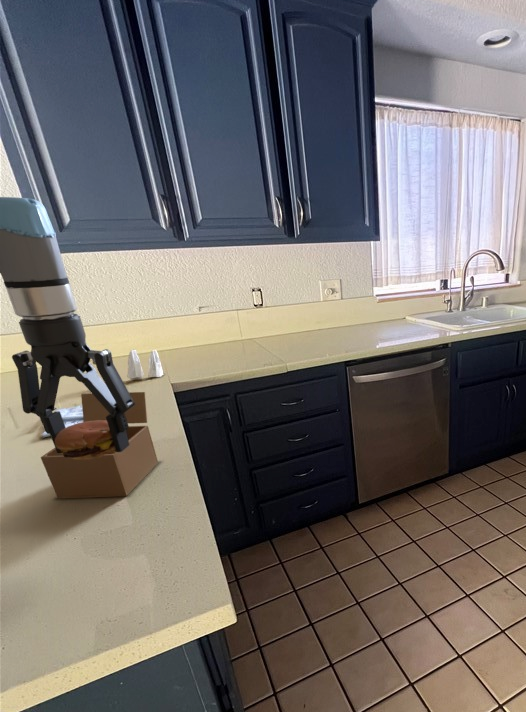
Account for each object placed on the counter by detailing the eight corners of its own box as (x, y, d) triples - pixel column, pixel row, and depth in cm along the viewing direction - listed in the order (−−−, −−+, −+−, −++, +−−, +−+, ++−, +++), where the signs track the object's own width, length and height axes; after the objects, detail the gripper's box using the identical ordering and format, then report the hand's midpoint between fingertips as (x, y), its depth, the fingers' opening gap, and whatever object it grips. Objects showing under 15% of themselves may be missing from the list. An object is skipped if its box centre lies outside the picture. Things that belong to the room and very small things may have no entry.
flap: (80, 393, 94) (81, 393, 94) (83, 424, 95) (84, 424, 95) (144, 392, 94) (144, 392, 94) (146, 422, 95) (147, 422, 95)
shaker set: (129, 382, 155) (120, 352, 150) (128, 379, 158) (119, 350, 153) (164, 376, 161) (157, 347, 156) (163, 374, 164) (156, 345, 159)
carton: (57, 498, 86) (40, 457, 82) (98, 464, 99) (84, 427, 95) (126, 496, 86) (113, 455, 82) (158, 462, 99) (147, 425, 95)
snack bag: (128, 404, 135) (126, 397, 134) (118, 428, 118) (115, 421, 117) (58, 413, 129) (55, 407, 128) (35, 440, 112) (32, 433, 111)
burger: (81, 439, 77) (73, 415, 75) (135, 437, 78) (128, 413, 76) (47, 466, 68) (37, 440, 66) (107, 464, 69) (99, 438, 67)
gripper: (135, 310, 67) (168, 438, 77) (-5, 312, 67) (45, 440, 76) (108, 318, 60) (147, 458, 70) (-48, 321, 60) (12, 460, 70)
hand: (94, 448), depth 73 cm, fingers closed on burger, 9 cm apart
